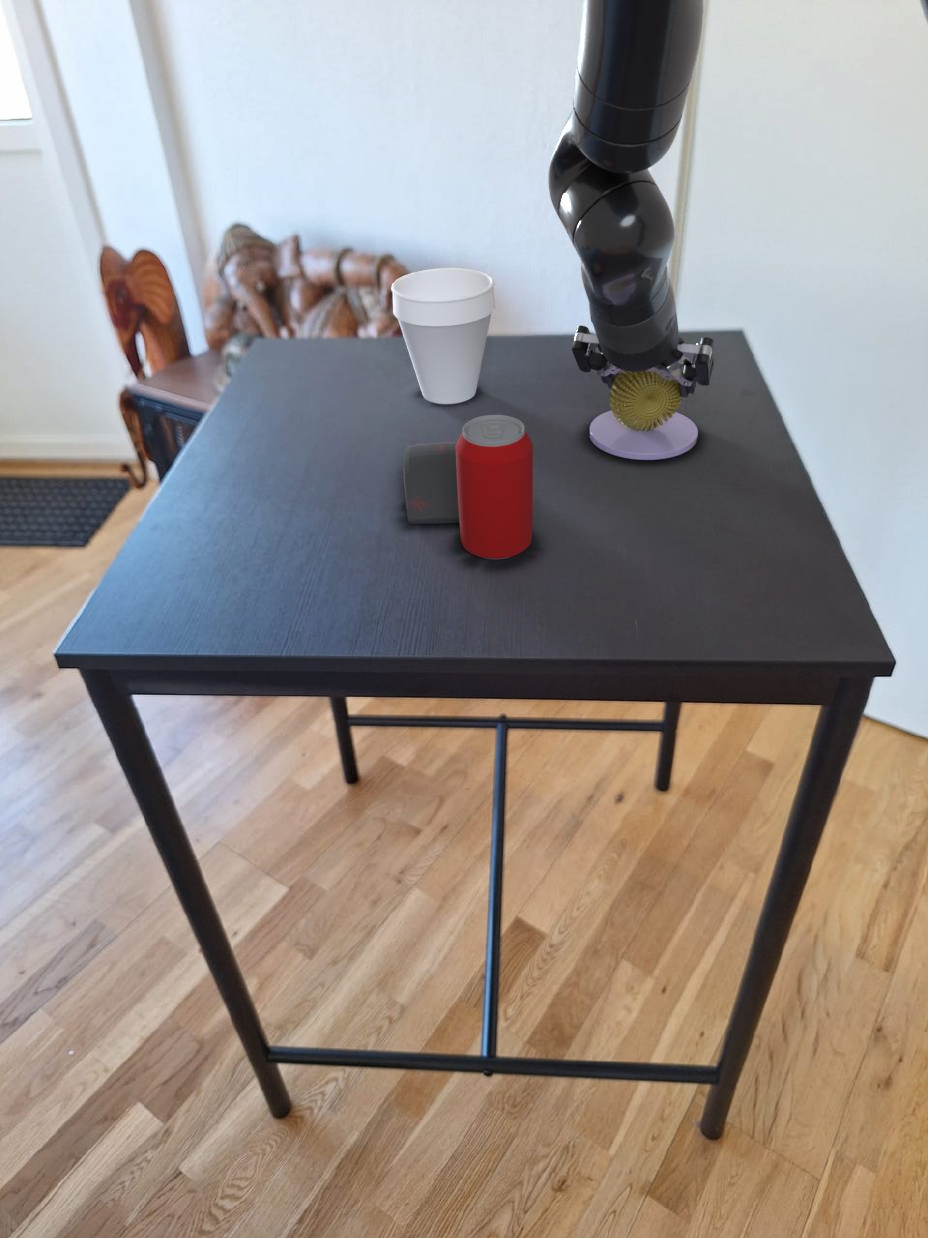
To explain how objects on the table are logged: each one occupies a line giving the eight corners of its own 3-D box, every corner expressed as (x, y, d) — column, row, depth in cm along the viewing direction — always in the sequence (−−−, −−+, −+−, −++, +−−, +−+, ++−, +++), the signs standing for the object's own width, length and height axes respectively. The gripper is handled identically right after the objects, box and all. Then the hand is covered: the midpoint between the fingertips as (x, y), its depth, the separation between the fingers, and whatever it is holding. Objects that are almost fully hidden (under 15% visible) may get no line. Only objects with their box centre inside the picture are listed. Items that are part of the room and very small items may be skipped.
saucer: (705, 421, 98) (706, 413, 97) (685, 469, 89) (687, 460, 88) (604, 408, 102) (604, 400, 101) (576, 453, 93) (576, 445, 92)
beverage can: (533, 526, 82) (534, 410, 74) (530, 566, 76) (531, 446, 69) (464, 525, 82) (458, 410, 75) (457, 564, 77) (450, 445, 70)
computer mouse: (482, 458, 93) (481, 424, 91) (482, 524, 82) (480, 488, 80) (410, 460, 93) (407, 427, 91) (400, 526, 83) (396, 490, 80)
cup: (493, 413, 102) (490, 299, 93) (393, 413, 103) (381, 300, 95) (501, 373, 111) (499, 266, 103) (409, 373, 113) (400, 267, 104)
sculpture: (671, 418, 97) (680, 349, 92) (683, 433, 93) (692, 363, 88) (603, 424, 96) (608, 355, 91) (612, 439, 93) (617, 369, 88)
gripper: (722, 281, 75) (723, 359, 91) (568, 269, 80) (594, 345, 95) (703, 360, 75) (708, 425, 90) (549, 344, 79) (579, 408, 95)
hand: (649, 384), depth 93 cm, fingers closed on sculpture, 7 cm apart
